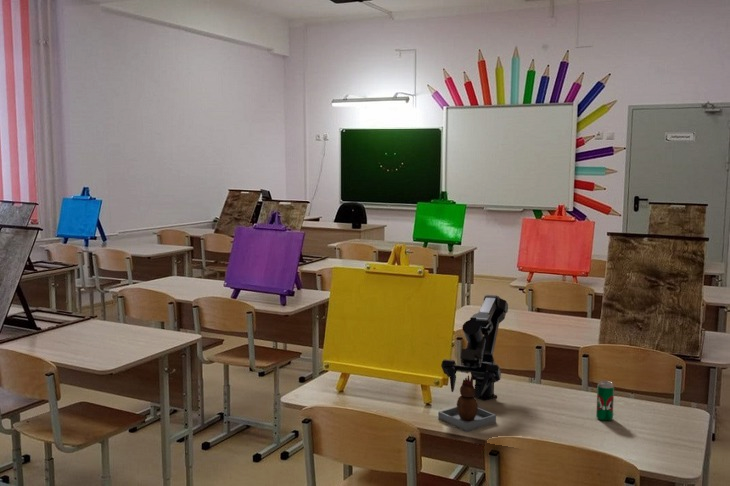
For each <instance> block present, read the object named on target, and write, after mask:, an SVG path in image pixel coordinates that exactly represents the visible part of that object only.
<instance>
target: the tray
mask: <svg viewBox="0 0 730 486" xmlns="http://www.w3.org/2000/svg"><path fill="white" fill-rule="evenodd" d="M437 413H438V414H437V415H438V416H437V418H438V420H439V421H441V422H444V423H446V424H449V425H450V426H452V427H454V426H455V427H454V428H457V429H459V430H461V429H462V431H463V430H464V431H463V432H465V431H466V432H465V433H467V431H468V432H470V431H471V432H472V431H474V430H478V429H479V428H482V427H486V426H489V425H493V424H495V423H497V414H495V413H493V412H490V411H488V410H485V409H482V408H480V407H478V410H477V414H476V416H475V418H474V419H473V420H471V421H466V420H463V419H461V418H460V416H459V414H458V411H457V406H453V407H451V408H447V409H444V410H440V411H438V412H437Z"/></svg>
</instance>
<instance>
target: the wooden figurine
mask: <svg viewBox="0 0 730 486" xmlns="http://www.w3.org/2000/svg"><path fill="white" fill-rule="evenodd" d="M459 393H460V396H459V397H458V398H457V402H456V407H457V411H458V414H459V416H460V418H461V419H463V420H466V421H471V420H473V419H474V418H475V416H476V414H477V410H478V408H479V406H478V401H477V399H476V397H474V394H475V385H474V380H473V375H472V376H471V375H469V374H468V375H467V377H465V378H464V379H463V381H462V384H461V386H460V388H459Z"/></svg>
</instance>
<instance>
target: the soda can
mask: <svg viewBox="0 0 730 486" xmlns="http://www.w3.org/2000/svg"><path fill="white" fill-rule="evenodd" d="M596 387H597V390H596V414H595V415H596V419H598V420H600V421H603V422H610V421H612V420H613V419H614V400H615V399H614V397H615V396H614V395H615V385H614V383H613V382H612V381H609V380H600V381H598V383H597V386H596Z"/></svg>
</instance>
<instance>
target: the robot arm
mask: <svg viewBox="0 0 730 486" xmlns="http://www.w3.org/2000/svg"><path fill="white" fill-rule="evenodd" d="M508 311H509V304H508V302H507V300H505V299H503V298H501V297H500V296H498V295H495V294H486V295H484V298H483V302H482V304H481V306H480V309H479V310H478V312H477V313H474V314H472V316H471V317H470V318H469V320H467V321H465V322H464V323H463V324H462V326H461V328H462V332H463V334H464V338H465V341H466V342H467V344H466V347H465V348H461V349H460V356H459V357H460V359H461V360H460V361H461V363H462V364H457V363H456V360H453V359H447V358H446V359H443V360H442V361H441V364H440V367H441V368H442V372H443V374H444V375H446V376H447V377H448V378H449V383H450V391H451V393H454V390H455V388H456V387H455V386H456V381H457V380H456V379H457V372H465V373H467V372H468V373H470V377H471V376H472V375H473V381H474V382H475V383H474V389H475V394H474V396H473V397H474V398H478V399H479V400H482V401H487V400H492V399H494V398H498V395H497V394H495V393H494V392H495V383H497V382H499V381H500V380H501V377H502V372H501V369H500V366H499V365H498V364H496V362H495V359H494V352H495V346H496V342H497V338H498V337H497V336H498V331H499V325H500V323H502V322H503V321H504V320H505V319H506V315H507V313H508Z"/></svg>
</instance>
